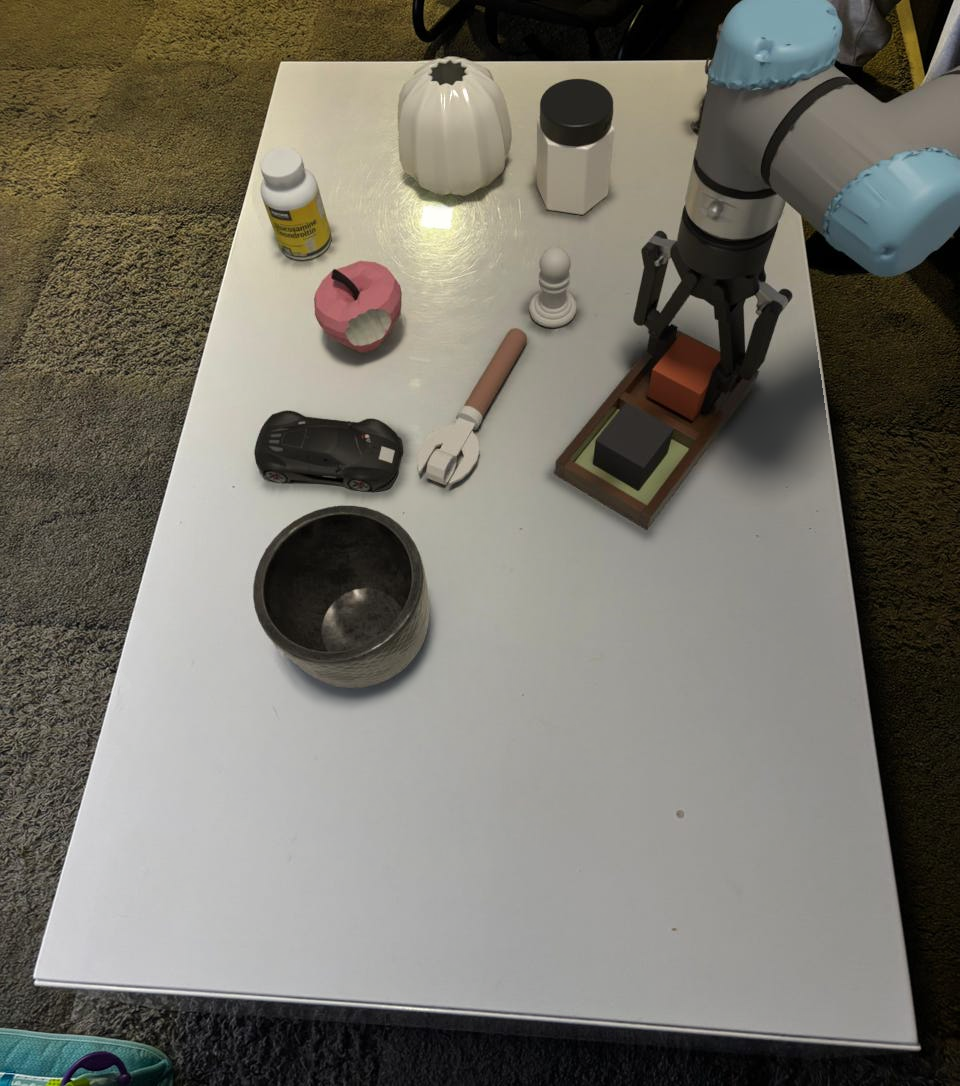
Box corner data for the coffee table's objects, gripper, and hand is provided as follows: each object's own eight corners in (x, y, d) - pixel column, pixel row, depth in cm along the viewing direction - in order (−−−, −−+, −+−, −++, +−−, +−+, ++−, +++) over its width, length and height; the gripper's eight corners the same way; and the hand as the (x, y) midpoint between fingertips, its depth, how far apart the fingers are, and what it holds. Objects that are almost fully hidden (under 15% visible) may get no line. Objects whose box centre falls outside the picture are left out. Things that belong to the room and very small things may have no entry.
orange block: (720, 385, 86) (729, 357, 82) (692, 421, 84) (700, 394, 80) (674, 361, 88) (681, 333, 84) (646, 396, 86) (652, 369, 82)
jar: (615, 208, 100) (625, 119, 89) (550, 223, 99) (553, 136, 88) (592, 159, 104) (599, 68, 93) (530, 173, 103) (530, 84, 92)
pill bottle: (271, 257, 100) (241, 177, 89) (292, 219, 102) (265, 137, 92) (321, 266, 98) (295, 186, 88) (340, 228, 101) (318, 146, 90)
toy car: (394, 495, 84) (387, 473, 80) (254, 480, 86) (241, 458, 82) (407, 434, 87) (401, 410, 83) (272, 421, 89) (260, 397, 85)
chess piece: (585, 315, 93) (590, 255, 85) (546, 336, 92) (547, 278, 84) (558, 286, 95) (561, 225, 87) (520, 306, 94) (518, 246, 86)
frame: (753, 386, 87) (759, 371, 85) (647, 530, 81) (650, 517, 78) (664, 340, 91) (667, 324, 88) (554, 474, 84) (555, 461, 82)
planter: (458, 585, 79) (445, 524, 67) (412, 724, 73) (389, 683, 62) (325, 551, 82) (290, 487, 70) (271, 683, 76) (223, 637, 64)
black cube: (667, 453, 83) (674, 428, 79) (638, 491, 82) (643, 468, 77) (621, 427, 85) (626, 401, 81) (592, 464, 83) (595, 440, 79)
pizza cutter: (494, 336, 93) (493, 317, 90) (543, 352, 92) (544, 333, 89) (409, 475, 85) (406, 459, 82) (462, 496, 83) (460, 480, 81)
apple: (336, 379, 91) (315, 318, 82) (318, 322, 95) (296, 257, 86) (419, 354, 92) (406, 291, 83) (398, 299, 95) (384, 232, 86)
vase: (445, 227, 100) (433, 129, 88) (383, 166, 105) (363, 66, 93) (534, 175, 103) (534, 74, 91) (469, 119, 108) (461, 16, 96)
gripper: (606, 193, 67) (589, 372, 87) (817, 291, 61) (745, 457, 82) (656, 140, 69) (628, 326, 90) (863, 229, 63) (782, 406, 84)
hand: (684, 388), depth 86 cm, fingers closed on orange block, 5 cm apart
